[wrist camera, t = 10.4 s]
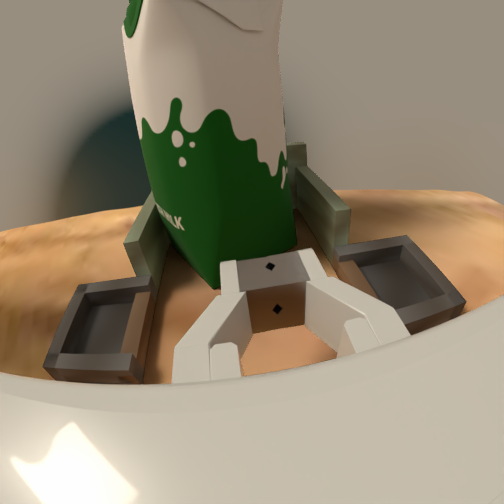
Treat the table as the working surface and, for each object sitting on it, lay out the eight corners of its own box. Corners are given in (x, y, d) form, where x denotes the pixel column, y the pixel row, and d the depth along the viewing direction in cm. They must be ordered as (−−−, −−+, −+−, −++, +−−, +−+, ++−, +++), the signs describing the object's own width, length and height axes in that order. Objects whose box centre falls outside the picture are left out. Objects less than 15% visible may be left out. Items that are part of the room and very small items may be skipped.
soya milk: (158, 246, 22) (110, 8, 11) (247, 209, 26) (221, 0, 15) (208, 305, 16) (145, -56, 5) (316, 245, 20) (296, -36, 9)
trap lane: (57, 381, 11) (-7, 305, 8) (121, 231, 25) (103, 176, 22) (456, 320, 12) (495, 229, 9) (349, 197, 26) (350, 139, 23)
